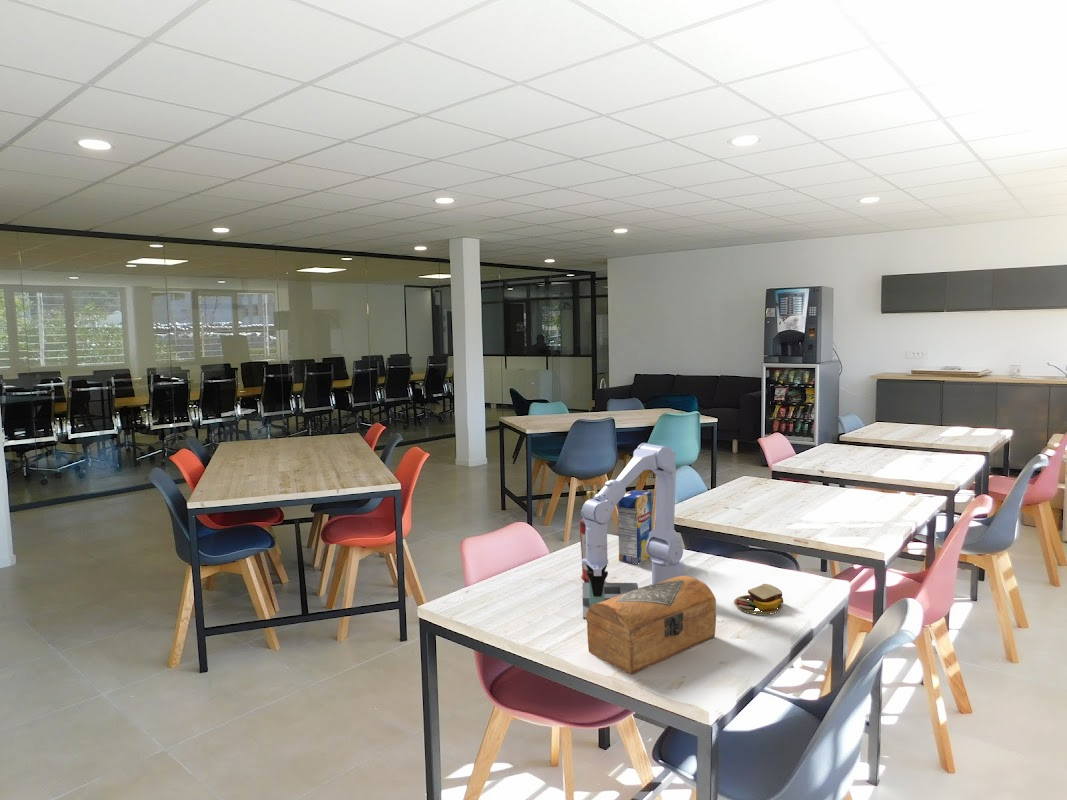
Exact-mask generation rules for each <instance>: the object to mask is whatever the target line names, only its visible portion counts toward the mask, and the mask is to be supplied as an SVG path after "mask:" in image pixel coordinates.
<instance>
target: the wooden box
mask: <svg viewBox="0 0 1067 800" xmlns="http://www.w3.org/2000/svg"><path fill="white" fill-rule="evenodd" d="M716 604H717V599H716V597H715V595H714V593H713V591H712V590H711V588H709V585H707V584H706V583H705V582H704V581H702V580H700V579H698V578H695V577H692V576H688V575H685V576H679V577H675V578H672V579H669V580H666V581H663V582H660V583H657V584H653V585H650V584H649V585H645V586H642V587H638V589H635V590H633V591H631V592H628V593H625V594H622V595H619V596H616V597H614V598H611V599H608V600H605V601H603V602H600V603H596V604H593V605H592V606H591V607H590V608H589V609H588V610H586V619H585V620H586V623H587V624H586V627H587V628H586V629H587V634H586V635H587V646H588V652H589V653H591V654H592V655H594V656H596V657H598V658H600V660H603V661H605V662H607V663H609V664H611V665H613V666H615V667H616V668H619V669H621V670H622V671H624V672H626V673H628V674H630V675H634V674H635V675H636V673H639V672H641V671H643V670H645V669H648V668H650V667H652V666H654V665H656V664H658V663H661V662H663V661H666V660H668V659H669V658H672V657H673V656H676V655H678V654H681V653H682V652H685V651H687V650H689V649H693V648H694V647H697V646H699V645H701V644H703V643H706V642H708V641H710V640H713V639H714V638H715V635H716V623H717V605H716Z"/></svg>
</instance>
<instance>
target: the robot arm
mask: <svg viewBox="0 0 1067 800" xmlns="http://www.w3.org/2000/svg"><path fill="white" fill-rule="evenodd" d="M650 470H651V471H652V473H654V474H655V475H656V487H655V489H656V490H655V491H656V492H655V511H654V512H655V516H654V517H655V518H654V520H655V521H654V528H653V529H652V531H651V532H650V533H649V538H648V541H647V544H646V551H647V554H648V555H649V556H650V557H649V559H650V561H651V584H649V585H653V584H657V583H660V582H663V581H666V580H669V579H672V578H675V577H679V576H686V571H685V570H686V568H685V564H684V561H681V560H682V557H683V555H684V554H683V553H684V548H683V544H682V537H681V536H680V534H679V533H678V532H677V531H676V530H675V509H676V508H675V506H676V487H677V486H676V484H677V482H676V481H677V467H676V452H675V451H674V450H673V449H672V448H671V447H670V446H666V445H664V446H663V445H658V444H651V443H647V442H642V443H640V444H639V445H638V446H637V448H635V449H634V451H633V456H632V458H631V459H630V461H629V462H628V463H627V465H626V466H625V467H624V468H623V470H622V471H621V473H619V475H618V476H617V477H616V479H609V480H607V481H605V483H604V486H603V487H602V488H601V489H600V490H599V491H598V492H597V493H595V497H594V498H593V499H591V500H590V499H589V500H587V499H586V501H585V502H584V503H583V505H582V507H581V510H580V515H581V517H582V518H584V524H585V525H586V559H582V558H581V564H582V563H586V565H587V568H588V570H587V575H588V577H589V579H590V582H591V586H592V592H593V596H594V597H601V596H602V592H603V586H604V583H606V579H607V577H608V575H609V571H608V570H607V571H606V569H607V567H608V564H609V559H608V522H609V521H610V520H611V518H612V514H613V511H614V509H615V507H616V505H618V502H619V501H620V500H621V499H622V498H623V496H624V495H625V494H626V493H627V492H626V491H627V489H626V488H627V487H628V486H629V485H630V484H631V483H632V482H633V481H634V480H635V479H637V477H639V476H640V475H641V473H643V472H644V471H650Z"/></svg>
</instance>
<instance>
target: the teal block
mask: <svg viewBox="0 0 1067 800" xmlns="http://www.w3.org/2000/svg"><path fill="white" fill-rule="evenodd" d="M603 601H605V600H604V586H603V592H602V596H601V597H594V596H593V592H592V586H591V582H590V579H589V604H590V607H591V606H592V605H593V604H596V603H600V602H603Z"/></svg>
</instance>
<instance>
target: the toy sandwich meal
mask: <svg viewBox="0 0 1067 800" xmlns="http://www.w3.org/2000/svg"><path fill="white" fill-rule="evenodd" d="M747 593H748V594H745V595H740V596H738V597H736V598H735V599H734V600H733V604H734V606H735V607H736V608H737V609H739V610H740V609H741V610H740V611H742V610H743V611H742V612H744V611H746V612H745V613H747V612H749V613H748V614H750V613H756V614H770V613H774V614H776V613H778V612H779V611H780V610H782V607H783V606H782V603H784V598H783V592H782V590H781V589H779V588H778V587H777V586H774V585H772V584H768V583H763V584H761V585H758V586H756V587H753V588H750V589H748V590H747ZM747 599H749V600H747ZM755 608H758V609H759V610H760V611H754V610H755ZM777 608H778V609H777ZM761 611H762V612H761ZM777 611H778V612H777ZM775 612H776V613H775ZM756 614H755V615H756ZM770 615H771V614H770Z"/></svg>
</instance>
